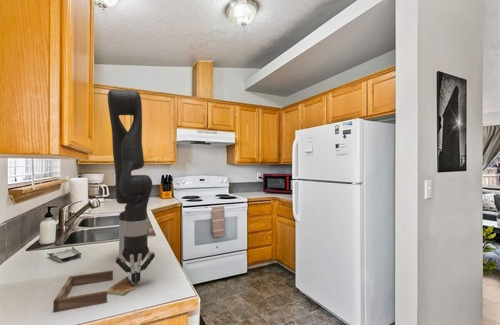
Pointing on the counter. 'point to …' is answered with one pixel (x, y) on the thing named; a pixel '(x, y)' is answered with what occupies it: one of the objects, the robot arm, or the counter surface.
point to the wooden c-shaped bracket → (81, 300)
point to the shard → (121, 287)
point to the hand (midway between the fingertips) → (135, 282)
